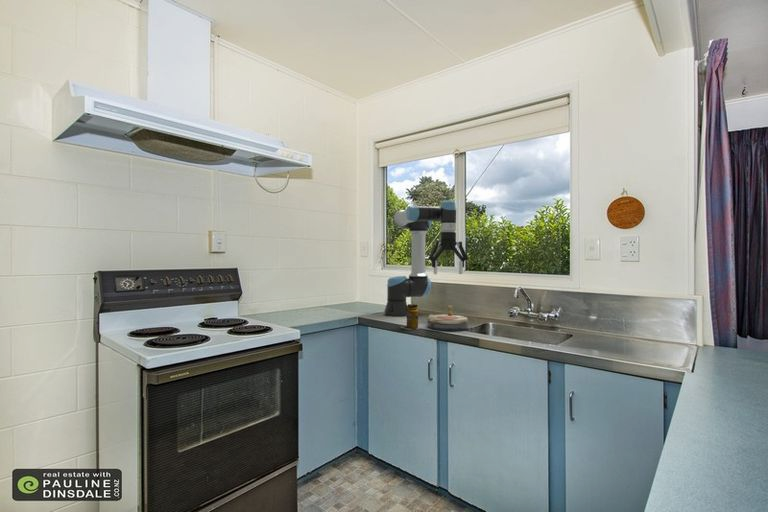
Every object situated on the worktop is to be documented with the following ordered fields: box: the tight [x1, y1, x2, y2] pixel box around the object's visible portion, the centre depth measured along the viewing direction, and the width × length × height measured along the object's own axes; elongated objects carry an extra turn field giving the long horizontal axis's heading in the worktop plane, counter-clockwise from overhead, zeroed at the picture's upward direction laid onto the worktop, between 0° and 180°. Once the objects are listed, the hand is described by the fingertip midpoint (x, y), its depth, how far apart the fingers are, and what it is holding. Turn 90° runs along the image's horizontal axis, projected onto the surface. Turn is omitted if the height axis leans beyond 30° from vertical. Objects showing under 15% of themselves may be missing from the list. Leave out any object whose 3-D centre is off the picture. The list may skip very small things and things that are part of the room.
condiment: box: [400, 303, 421, 331], centre depth 203 cm, size 7×8×12 cm
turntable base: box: [427, 314, 469, 332], centre depth 205 cm, size 21×21×5 cm
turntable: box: [428, 305, 469, 324], centre depth 205 cm, size 20×20×6 cm
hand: (448, 274), depth 198 cm, fingers open, 13 cm apart
